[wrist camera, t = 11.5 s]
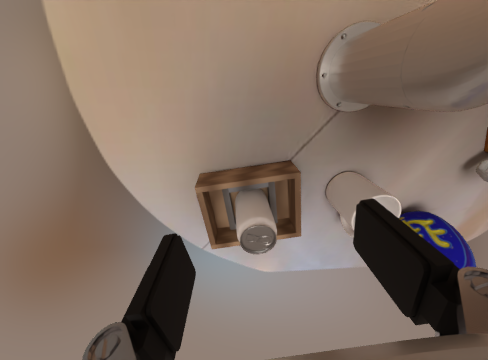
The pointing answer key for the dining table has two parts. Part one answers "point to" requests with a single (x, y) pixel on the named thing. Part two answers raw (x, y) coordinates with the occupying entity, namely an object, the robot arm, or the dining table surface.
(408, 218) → the ornament
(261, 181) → the bin
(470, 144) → the dining table surface
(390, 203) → the mug
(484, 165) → the mug
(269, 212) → the can
